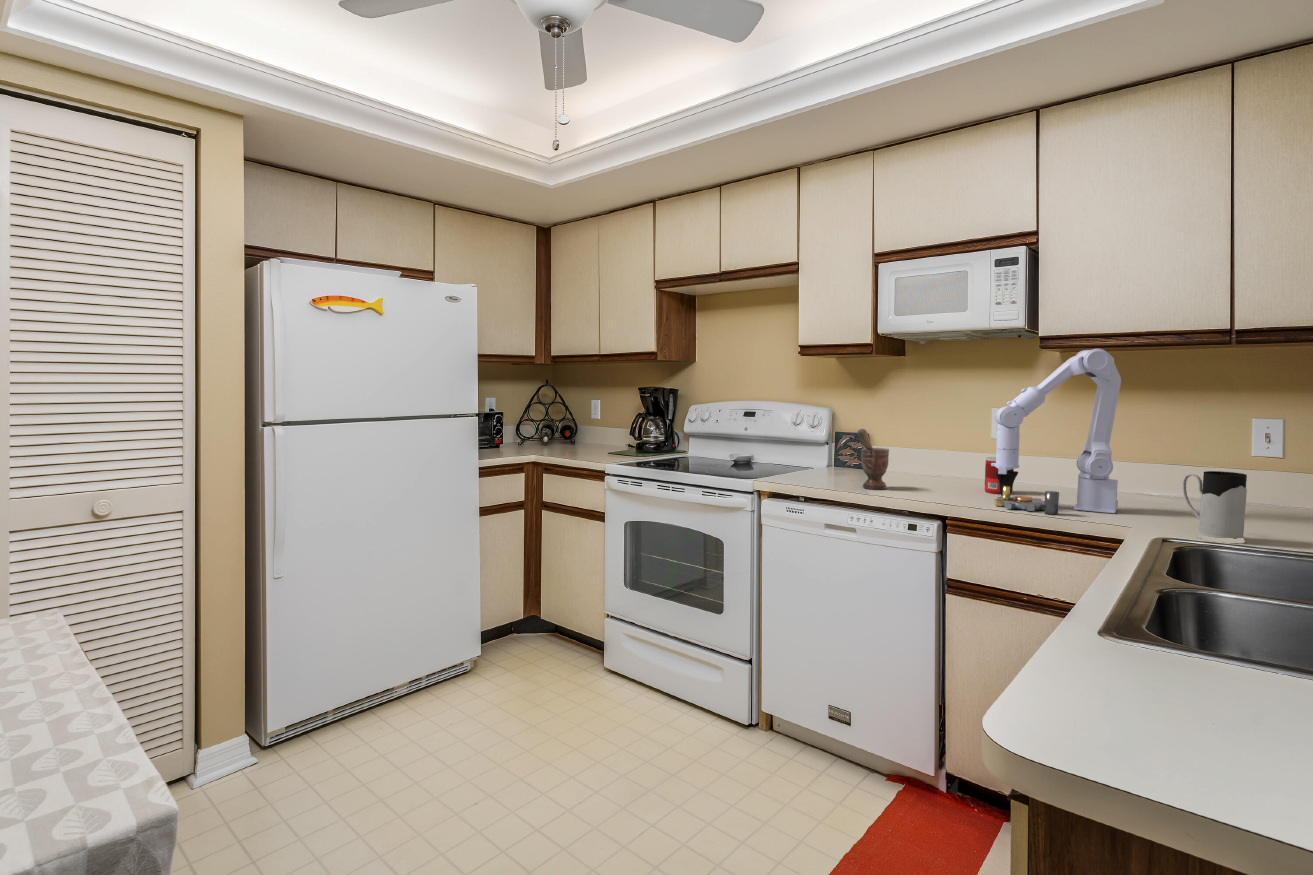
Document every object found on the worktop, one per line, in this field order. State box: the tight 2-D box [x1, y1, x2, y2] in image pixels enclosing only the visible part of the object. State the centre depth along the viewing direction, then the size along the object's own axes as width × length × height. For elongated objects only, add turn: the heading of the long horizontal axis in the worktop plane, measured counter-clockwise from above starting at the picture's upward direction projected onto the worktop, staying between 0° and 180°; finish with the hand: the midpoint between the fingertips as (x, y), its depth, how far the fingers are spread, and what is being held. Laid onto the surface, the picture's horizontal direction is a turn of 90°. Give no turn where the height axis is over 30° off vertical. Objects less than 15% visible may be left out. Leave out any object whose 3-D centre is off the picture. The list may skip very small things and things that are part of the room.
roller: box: [1043, 490, 1060, 516], centre depth 183 cm, size 3×3×6 cm
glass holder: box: [1182, 470, 1248, 539], centre depth 157 cm, size 9×14×15 cm, turn 9°
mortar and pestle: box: [857, 428, 890, 491], centre depth 224 cm, size 12×9×20 cm
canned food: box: [984, 456, 1015, 495], centre depth 217 cm, size 8×8×11 cm
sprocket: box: [993, 486, 1045, 512], centre depth 193 cm, size 15×15×6 cm
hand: (1005, 496), depth 195 cm, fingers closed, pressing on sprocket
